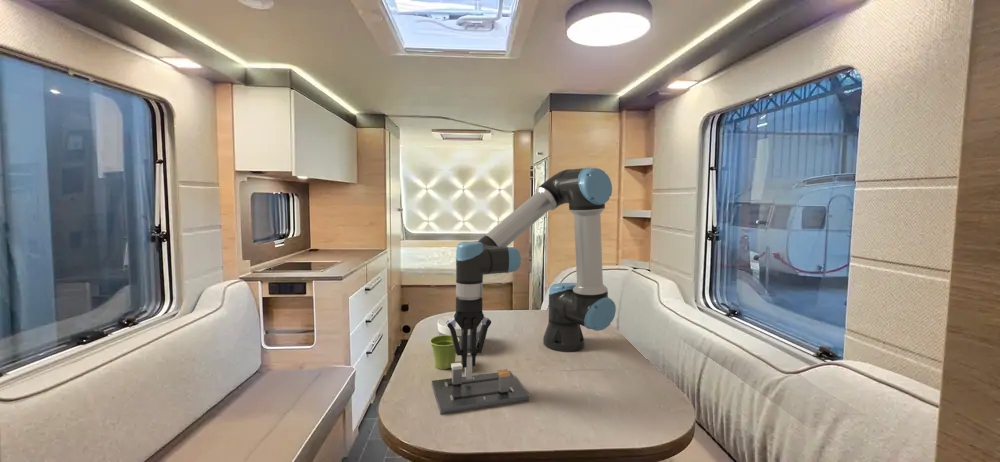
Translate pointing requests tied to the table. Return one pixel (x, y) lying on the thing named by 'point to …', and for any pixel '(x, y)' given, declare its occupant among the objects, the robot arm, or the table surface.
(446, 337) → the plant pot
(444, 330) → the bowl
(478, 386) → the console
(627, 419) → the table surface
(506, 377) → the fader orange
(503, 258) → the robot arm
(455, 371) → the fader white
